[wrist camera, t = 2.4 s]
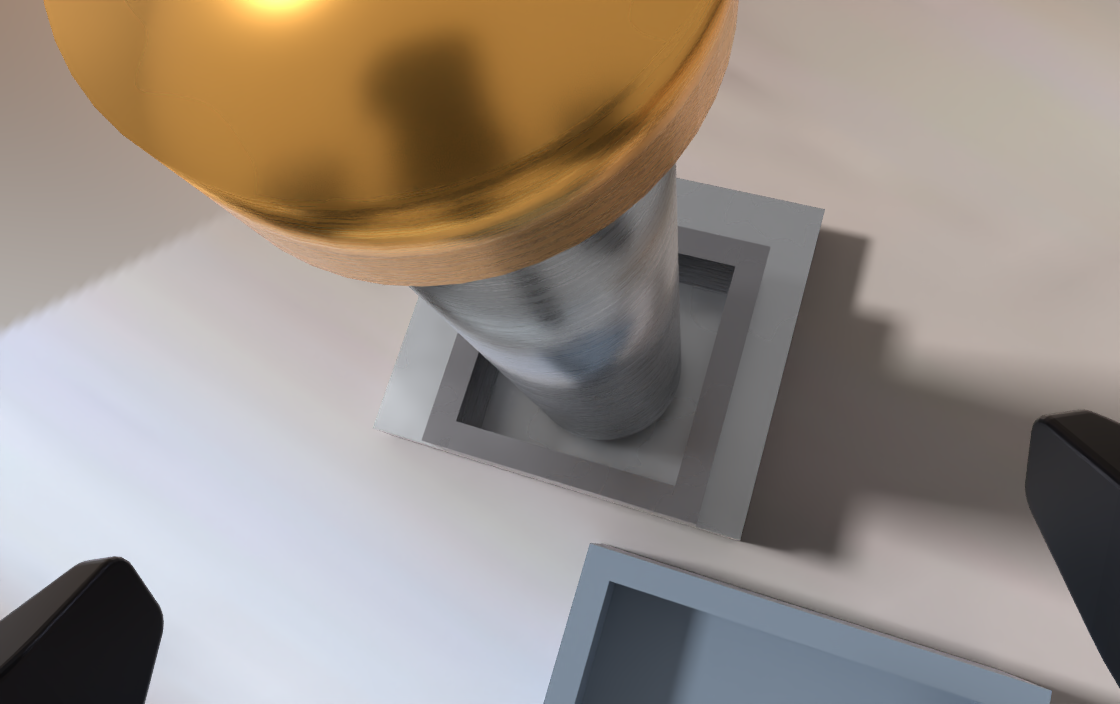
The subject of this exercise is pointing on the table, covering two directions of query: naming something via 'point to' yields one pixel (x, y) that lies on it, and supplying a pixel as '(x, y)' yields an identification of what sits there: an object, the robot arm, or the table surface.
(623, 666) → the tray
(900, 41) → the table surface
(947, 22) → the table surface
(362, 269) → the stop pin
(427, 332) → the square socket base
